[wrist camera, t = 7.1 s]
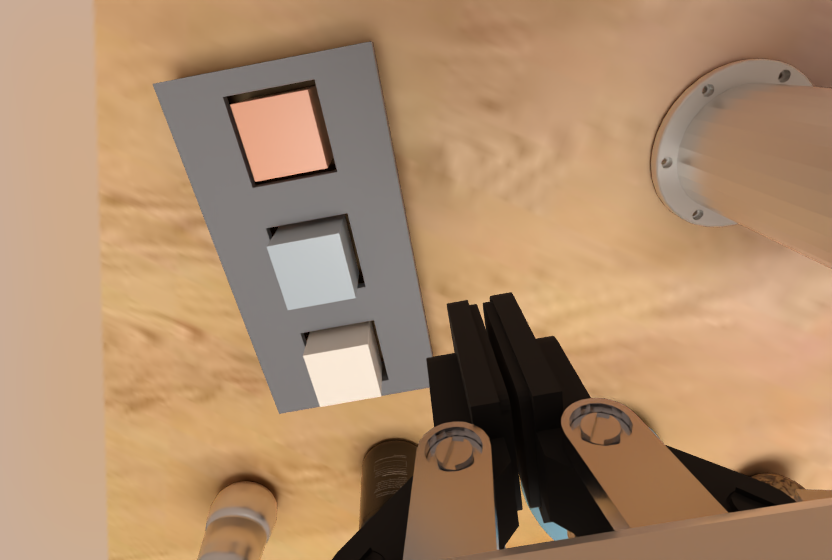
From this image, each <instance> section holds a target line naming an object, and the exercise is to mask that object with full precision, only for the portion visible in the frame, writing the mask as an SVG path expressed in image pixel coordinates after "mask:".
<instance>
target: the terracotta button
mask: <svg viewBox="0 0 832 560" xmlns="http://www.w3.org/2000/svg"><path fill="white" fill-rule="evenodd" d="M230 106H231V109H232V112H233V115H234V118H235V121H236V124H237V127H238V130H239V133H240V136H241V140H242V143H243V146H244V149H245V152H246V155H247V158H248V161H249V164H250V167H251V170H252V173H253V176H254V180H255V182H257V181H262V180H267V179H273V178H278V177H283V176H288V175H294V174H299V173H304V172H310V171H315V170H320V169H326V168H328V166H329V164H330V162H331V161H332V159H333V157H334V156H333V152H332V148H331V144H330V140H329V136H328V132H327V128H326V124H325V120H324V116H323V112H322V108H321V104H320V100H319V96H318V91H317V87H316V86H312V87H307V88H302V89H296V90H291V91H286V92H281V93H276V94H271V95H265V96H260V97H255V98H250V99H246V100H243V101H240V102H237V103H234V104H231V105H230Z"/></svg>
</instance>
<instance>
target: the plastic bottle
mask: <svg viewBox="0 0 832 560" xmlns="http://www.w3.org/2000/svg"><path fill="white" fill-rule="evenodd" d="M276 519H277V503H276V500H275V498H274V496H273V494H272V493H271V491H270V490H269V489H267V488H266V487H264V486H263V485H261V484H258V483H255V482H249V481H242V482H237V483H233V484H231V485H229V486H228V487H226V488H224V489H223V490H222V491H221V492H220V493H219V494H218V495H217V497H216V498H215V500H214V502H213V503H212V505H211V507H210V510H209V514H208V518H207V523H206V530H205V535H204V538H203V541H202V545H201V548H200V552H199V555H198V558H197V560H260V559H261V556H262V554H263V551H264V548H265V545H266V543H267V541H268V539H269V537H270V536H271V533H272V531H273V528H274V526H275V524H276Z"/></svg>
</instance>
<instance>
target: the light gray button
mask: <svg viewBox="0 0 832 560" xmlns="http://www.w3.org/2000/svg"><path fill="white" fill-rule="evenodd" d="M267 250H268V253H269V256H270V259H271V262H272V265H273V268H274V271H275V274H276V277H277V280H278V282H279V285H280V288H281V291H282V294H283V297H284V300H285V303H286V306H287V309H288V310H292V309H298V308H303V307H309V306H314V305H320V304H326V303H331V302H337V301H342V300H348V299H353V298H356V293H357V286H358V278H359V270H358V266H357V262H356V258H355V254H354V250H353V246H352V242H351V238H350V234H349V230H348V226H347V222H346V218H345V214H341V215H335V216H330V217H325V218H319V219H314V220H309V221H303V222H298V223H292V224H287V225H282V226H279V228H278V229H277V231H276V232H275V234H274V236H273V237H272V239H271V240H270V242H269V244H268V245H267Z"/></svg>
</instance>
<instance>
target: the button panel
mask: <svg viewBox="0 0 832 560" xmlns="http://www.w3.org/2000/svg"><path fill="white" fill-rule="evenodd" d="M314 79H315V83H316V87H317V91H318V96H319V100H320V104H321V108H322V112H323V116H324V120H325V124H326V128H327V132H328V136H329V140H330V144H331V148H332V152H333V156H334V160H335V164H336V168H337V170H333V171H328V172H323V173H317V174H312V175H307V176H302V177H296V178H291V179H286V180H280V181H275V182H270V183H264V184H259V185H255V182H254V179H253V176H252V173H251V170H250V167H249V164H248V161H247V157H246V154H245V151H244V148H243V145H242V142H241V139H240V136H239V133H238V130H237V127H236V124H235V121H234V118H233V114H232V111H231V108H230V105H229V102H228V99H227V96H231V95H236V94H241V93H247V92H252V91H257V90H262V89H267V88H272V87H277V86H283V85H288V84H293V83H298V82H303V81H308V80H314ZM153 87H154V89H155V92H156V94H157V97H158V100H159V102H160V105H161V107H162V110H163V113H164V115H165V118H166V120H167V123H168V126H169V128H170V131H171V133H172V136H173V139H174V141H175V144H176V146H177V149H178V152H179V154H180V157H181V159H182V162H183V165H184V167H185V170H186V172H187V175H188V178H189V180H190V183H191V185H192V188H193V191H194V193H195V196H196V198H197V201H198V204H199V206H200V209H201V211H202V214H203V217H204V219H205V222H206V224H207V227H208V230H209V232H210V235H211V237H212V240H213V243H214V245H215V248H216V250H217V253H218V256H219V258H220V261H221V264H222V266H223V269H224V271H225V274H226V277H227V279H228V282H229V284H230V287H231V290H232V292H233V295H234V297H235V300H236V303H237V305H238V308H239V310H240V313H241V316H242V318H243V321H244V323H245V326H246V329H247V331H248V334H249V336H250V339H251V342H252V344H253V347H254V349H255V352H256V355H257V357H258V360H259V362H260V365H261V368H262V370H263V373H264V375H265V378H266V381H267V383H268V386H269V388H270V391H271V394H272V396H273V399H274V401H275V404H276V407H277V409H278V412H279V414H281V413H286V412H292V411H298V410H303V409H309V408H315V407H320V405H319V402H318V399H317V396H316V393H315V390H314V387H313V384H312V381H311V378H310V375H309V372H308V369H307V366H306V363H305V360H304V357H303V354H304V350H305V347H306V343H307V342H306V339H305V336H304V333H305V332H310V331H316V330H322V329H327V328H333V327H338V326H344V325H350V324H355V323H361V322H366V321H372V320H374V322H375V326H376V331H377V335H378V339H379V343H380V347H381V351H382V355H383V359H384V361H381V362H382V391H381V396H383V395H389V394H395V393H401V392H406V391H412V390H418V389H423V388H429V378H428V370H427V361H426V358H429V357H433V353H432V348H431V342H430V337H429V332H428V327H427V321H426V316H425V311H424V306H423V301H422V295H421V290H420V285H419V280H418V275H417V269H416V264H415V259H414V254H413V248H412V243H411V238H410V233H409V228H408V222H407V217H406V212H405V207H404V202H403V196H402V191H401V186H400V181H399V176H398V170H397V165H396V160H395V155H394V149H393V144H392V139H391V134H390V129H389V123H388V118H387V113H386V108H385V103H384V97H383V92H382V87H381V82H380V76H379V71H378V66H377V61H376V56H375V50H374V45H373V42H371V41H370V42H365V43H360V44H355V45H350V46H345V47H340V48H334V49H329V50H324V51H319V52H314V53H309V54H304V55H299V56H294V57H288V58H283V59H278V60H273V61H268V62H263V63H258V64H253V65H247V66H242V67H237V68H232V69H227V70H222V71H217V72H212V73H206V74H201V75H196V76H191V77H186V78H181V79H176V80H171V81H166V82H160V83H155V84H153ZM346 213H348V217H349V221H350V225H351V229H352V233H353V237H354V241H355V245H356V249H357V254H358V258H359V262H360V266H361V270H362V274H363V278H364V282H365V283H361V284H358V286H357V293H356V298H353V299H348V300H342V301H337V302H331V303H326V304H320V305H314V306H309V307H303V308H298V309H292V310H288V309H287V306H286V303H285V300H284V297H283V294H282V291H281V288H280V285H279V282H278V280H277V277H276V274H275V271H274V268H273V265H272V262H271V259H270V256H269V253H268V250H267V245H268V244H269V242H270V240H271V239H272V234H271V231H270V228H271V227H276V226H282V225H287V224H292V223H298V222H303V221H309V220H314V219H319V218H325V217H330V216H335V215H341V214H346Z"/></svg>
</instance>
